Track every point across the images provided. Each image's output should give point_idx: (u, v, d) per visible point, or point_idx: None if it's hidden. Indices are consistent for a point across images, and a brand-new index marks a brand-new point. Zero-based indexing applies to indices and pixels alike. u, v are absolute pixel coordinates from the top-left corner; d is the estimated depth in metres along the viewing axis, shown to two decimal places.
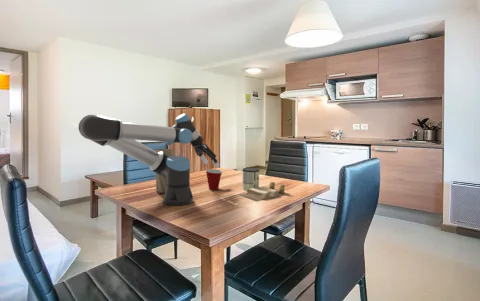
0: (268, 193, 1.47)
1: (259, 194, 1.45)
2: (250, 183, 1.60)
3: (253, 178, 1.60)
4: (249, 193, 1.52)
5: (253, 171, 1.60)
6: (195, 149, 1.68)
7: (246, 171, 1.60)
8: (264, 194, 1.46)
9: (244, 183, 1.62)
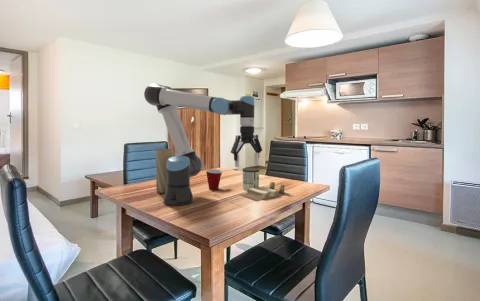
0: (268, 193, 1.47)
1: (259, 194, 1.45)
2: (250, 183, 1.60)
3: (253, 178, 1.60)
4: (249, 193, 1.52)
5: (253, 171, 1.60)
6: None
7: (246, 171, 1.60)
8: (264, 194, 1.46)
9: (244, 183, 1.62)
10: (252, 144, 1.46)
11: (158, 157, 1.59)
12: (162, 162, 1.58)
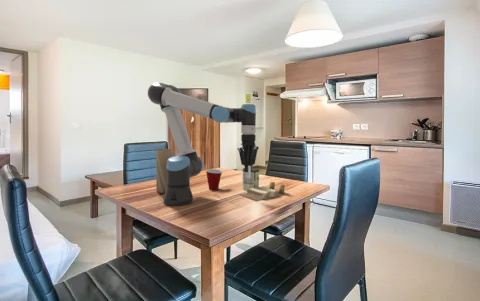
0: (268, 193, 1.47)
1: (259, 194, 1.45)
2: (250, 183, 1.60)
3: (253, 178, 1.60)
4: (249, 193, 1.52)
5: (253, 171, 1.60)
6: (252, 152, 1.47)
7: None
8: (264, 194, 1.46)
9: (244, 183, 1.62)
10: (249, 153, 1.44)
11: (158, 157, 1.58)
12: (162, 162, 1.58)
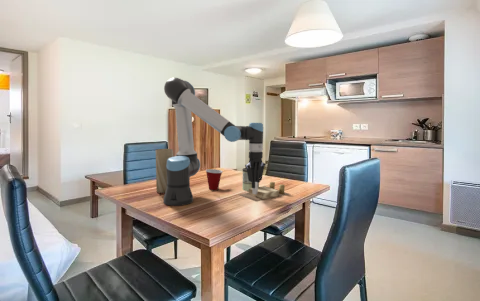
0: (269, 193, 1.48)
1: (261, 194, 1.46)
2: (250, 183, 1.60)
3: None
4: (251, 193, 1.53)
5: None
6: None
7: (246, 171, 1.60)
8: (265, 194, 1.46)
9: (244, 183, 1.62)
10: (256, 170, 1.48)
11: (158, 157, 1.59)
12: (162, 162, 1.58)
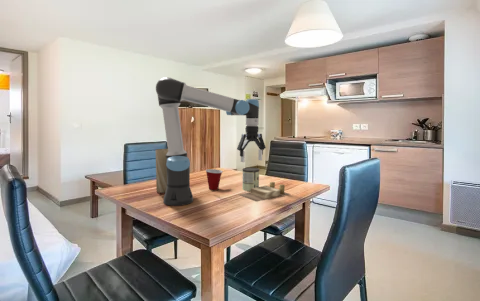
0: (271, 192, 1.49)
1: (263, 194, 1.47)
2: (250, 183, 1.60)
3: (253, 178, 1.60)
4: (252, 192, 1.54)
5: (253, 171, 1.60)
6: (259, 139, 1.67)
7: (246, 171, 1.60)
8: (267, 193, 1.47)
9: (244, 183, 1.62)
10: (256, 142, 1.64)
11: (158, 157, 1.59)
12: (162, 162, 1.58)
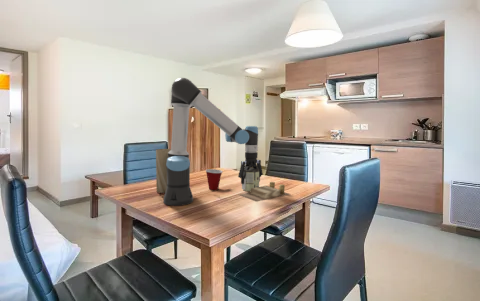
0: (271, 192, 1.49)
1: (263, 194, 1.47)
2: (250, 183, 1.60)
3: (253, 178, 1.60)
4: (252, 192, 1.54)
5: (253, 171, 1.60)
6: (257, 165, 1.69)
7: (246, 171, 1.60)
8: (267, 193, 1.47)
9: None
10: (255, 168, 1.66)
11: (158, 157, 1.59)
12: (162, 162, 1.58)
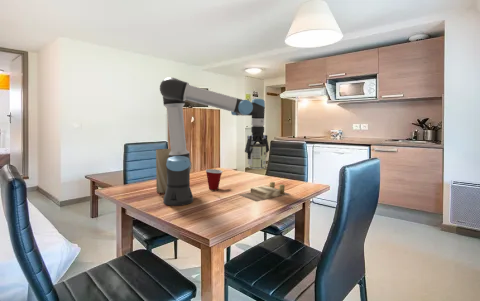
0: (271, 192, 1.49)
1: (263, 194, 1.47)
2: (257, 158, 1.55)
3: (260, 152, 1.55)
4: (252, 192, 1.54)
5: (260, 145, 1.54)
6: (263, 141, 1.64)
7: (253, 145, 1.55)
8: (267, 193, 1.47)
9: None
10: (261, 143, 1.60)
11: (158, 157, 1.59)
12: (162, 162, 1.58)
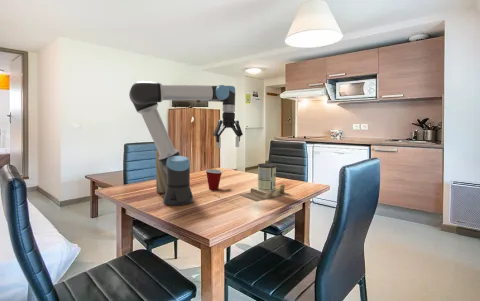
0: (271, 192, 1.49)
1: (263, 194, 1.47)
2: (267, 179, 1.49)
3: (270, 174, 1.49)
4: (252, 192, 1.54)
5: (270, 167, 1.48)
6: (236, 126, 1.69)
7: (262, 167, 1.49)
8: (267, 193, 1.47)
9: (260, 180, 1.51)
10: (233, 129, 1.66)
11: (158, 157, 1.59)
12: None
